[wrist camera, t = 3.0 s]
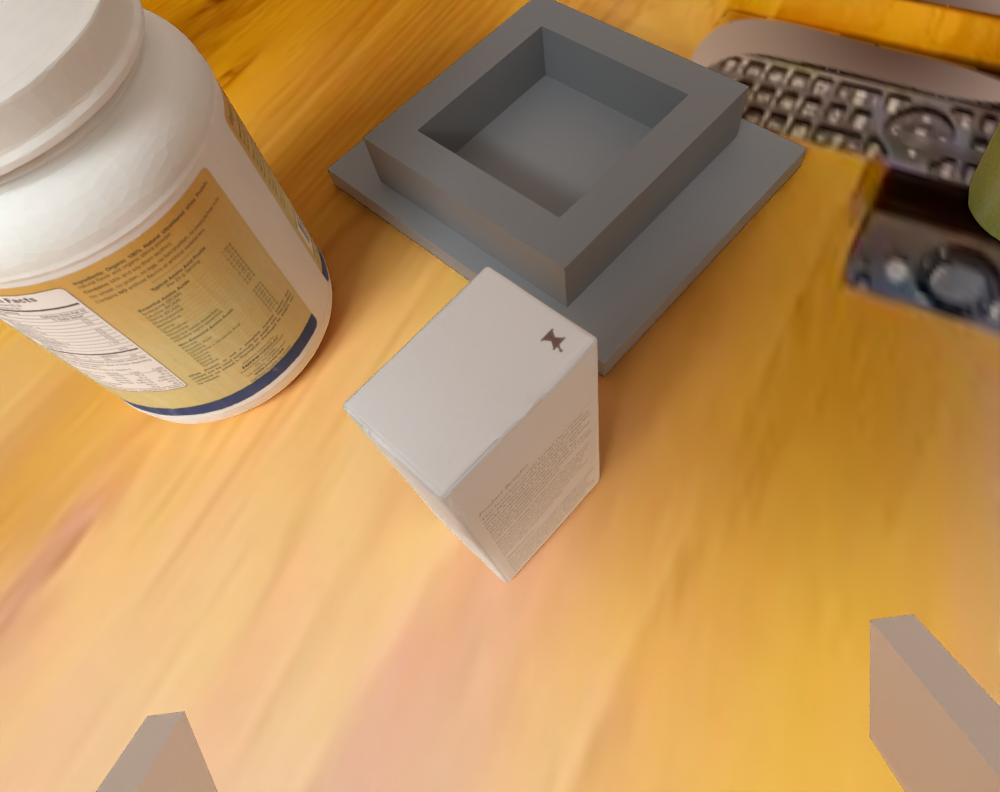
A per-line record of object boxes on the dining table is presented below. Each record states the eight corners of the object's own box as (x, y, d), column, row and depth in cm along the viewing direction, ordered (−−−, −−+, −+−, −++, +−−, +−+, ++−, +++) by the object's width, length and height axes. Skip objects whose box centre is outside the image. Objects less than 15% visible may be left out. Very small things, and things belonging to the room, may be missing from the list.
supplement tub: (156, 240, 38) (-141, -78, 22) (356, 228, 36) (181, -124, 21) (89, 435, 32) (-359, 189, 17) (320, 432, 31) (50, 156, 15)
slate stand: (334, 184, 38) (305, 126, 34) (519, 31, 41) (511, -37, 38) (603, 376, 30) (605, 328, 26) (800, 166, 34) (825, 97, 30)
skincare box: (528, 422, 29) (490, 257, 19) (602, 481, 28) (606, 336, 17) (434, 521, 28) (334, 403, 17) (506, 589, 26) (444, 505, 16)
